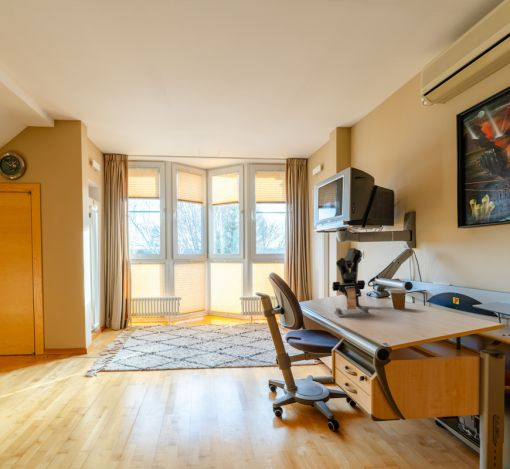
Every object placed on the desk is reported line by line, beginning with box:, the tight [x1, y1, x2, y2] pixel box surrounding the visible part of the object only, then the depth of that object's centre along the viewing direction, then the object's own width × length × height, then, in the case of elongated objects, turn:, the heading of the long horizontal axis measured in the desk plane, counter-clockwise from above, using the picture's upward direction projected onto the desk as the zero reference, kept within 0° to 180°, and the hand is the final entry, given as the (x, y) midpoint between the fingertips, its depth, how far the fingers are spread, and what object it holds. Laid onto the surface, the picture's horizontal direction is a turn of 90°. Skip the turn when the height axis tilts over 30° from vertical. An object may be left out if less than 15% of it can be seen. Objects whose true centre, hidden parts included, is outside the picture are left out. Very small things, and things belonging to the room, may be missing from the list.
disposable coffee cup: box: [389, 287, 407, 310], centre depth 216 cm, size 10×10×12 cm
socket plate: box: [334, 306, 372, 318], centre depth 207 cm, size 14×18×4 cm
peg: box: [345, 288, 356, 309], centre depth 208 cm, size 4×4×11 cm
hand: (351, 296), depth 206 cm, fingers closed on peg, 4 cm apart
